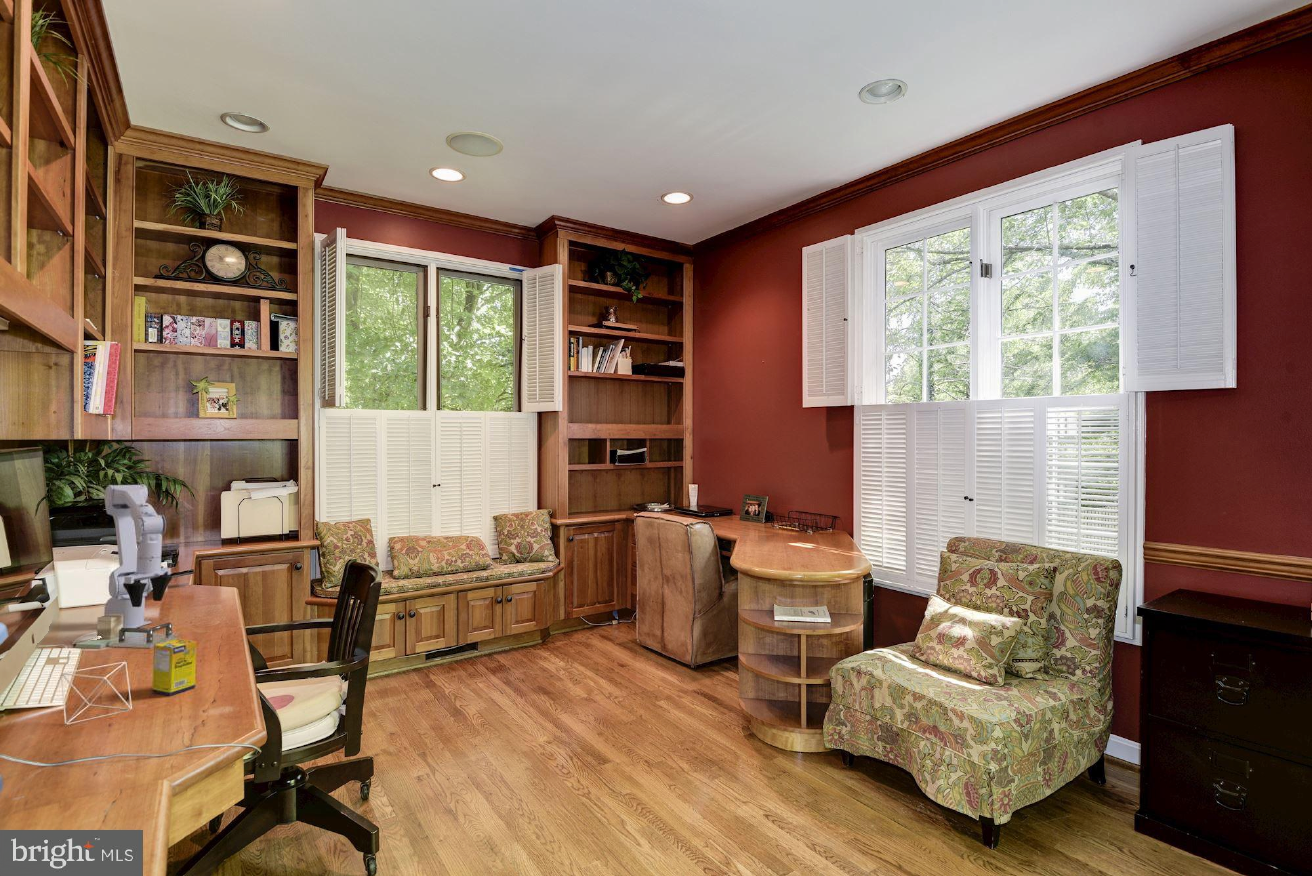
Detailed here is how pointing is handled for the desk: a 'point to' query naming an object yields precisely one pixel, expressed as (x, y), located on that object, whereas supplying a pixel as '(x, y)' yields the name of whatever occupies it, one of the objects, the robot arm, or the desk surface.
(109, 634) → the maple block
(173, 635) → the beige flat handled piece
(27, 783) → the desk surface
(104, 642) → the pad
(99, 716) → the geometric polyhedron
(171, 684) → the supplement box
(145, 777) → the desk surface
